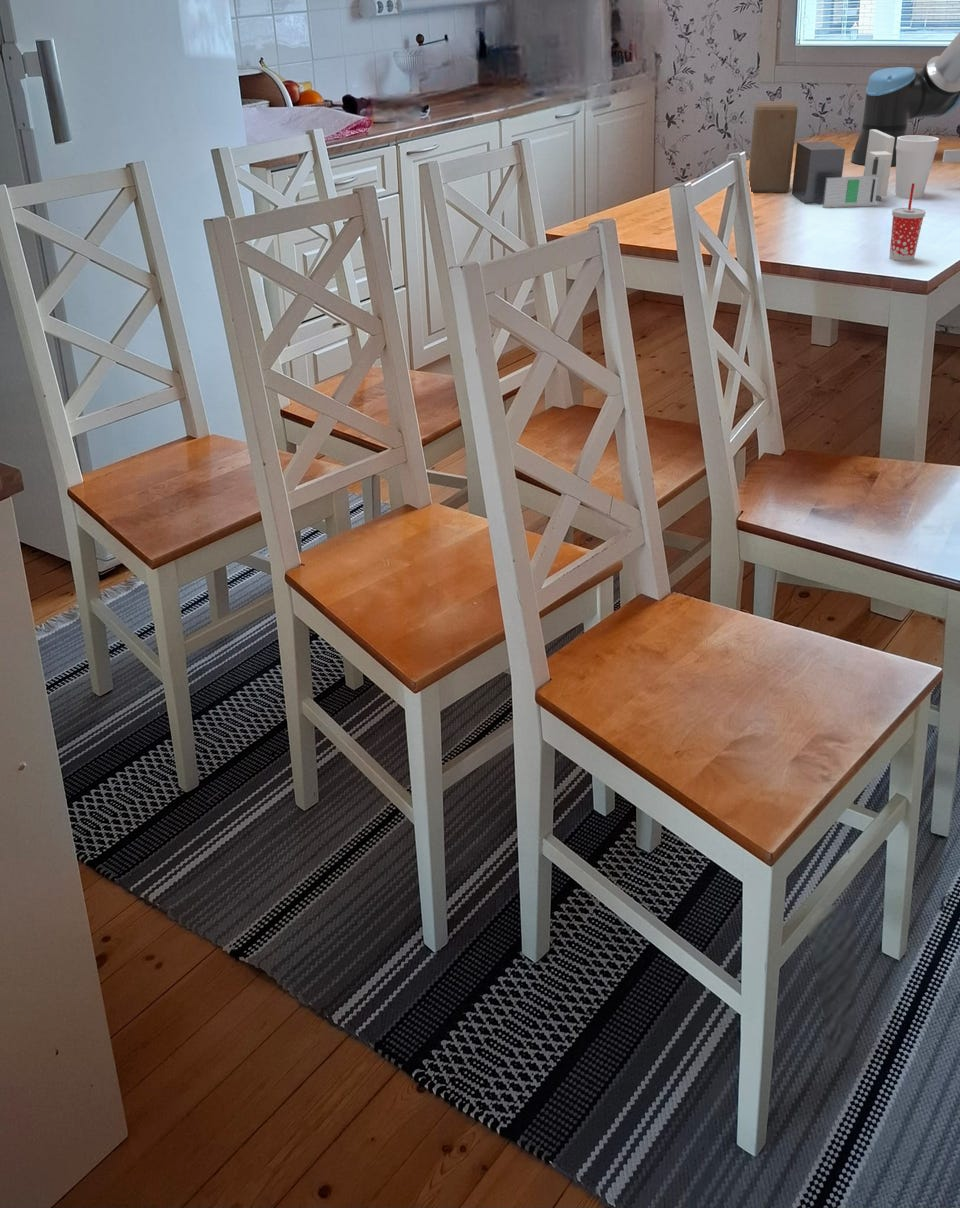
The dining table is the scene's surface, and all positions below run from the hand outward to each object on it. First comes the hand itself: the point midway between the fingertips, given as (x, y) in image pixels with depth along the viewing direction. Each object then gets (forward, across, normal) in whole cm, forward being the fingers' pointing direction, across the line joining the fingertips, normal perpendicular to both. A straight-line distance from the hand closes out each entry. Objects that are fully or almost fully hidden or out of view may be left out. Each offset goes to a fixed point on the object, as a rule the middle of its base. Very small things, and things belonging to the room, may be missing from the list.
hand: (954, 160), depth 279 cm
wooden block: (+41, +13, -8) cm, 43 cm away
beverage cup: (+33, -60, -8) cm, 69 cm away
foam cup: (+10, 0, -8) cm, 13 cm away
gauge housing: (+27, -2, -8) cm, 29 cm away
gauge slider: (+20, -2, -6) cm, 22 cm away
